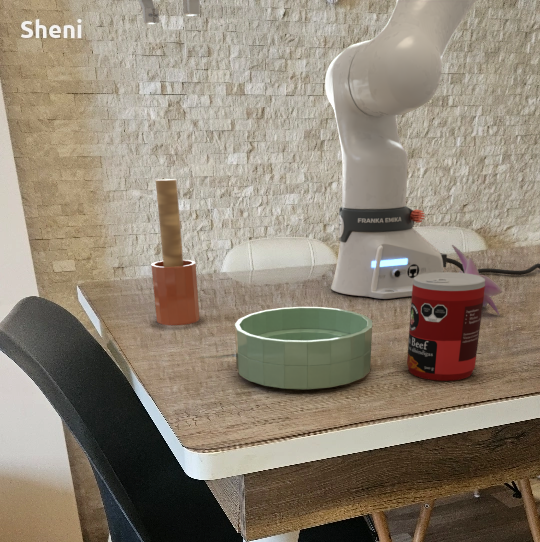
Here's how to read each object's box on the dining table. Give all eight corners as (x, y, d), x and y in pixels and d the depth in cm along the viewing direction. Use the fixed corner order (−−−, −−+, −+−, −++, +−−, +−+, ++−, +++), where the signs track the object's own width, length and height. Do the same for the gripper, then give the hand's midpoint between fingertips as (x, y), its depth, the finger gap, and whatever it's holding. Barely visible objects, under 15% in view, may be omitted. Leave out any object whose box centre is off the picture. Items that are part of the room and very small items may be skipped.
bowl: (349, 348, 90) (350, 303, 87) (388, 388, 76) (391, 336, 73) (230, 356, 87) (228, 311, 85) (247, 399, 73) (244, 346, 71)
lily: (493, 333, 98) (528, 272, 96) (422, 298, 99) (454, 237, 97) (484, 337, 110) (514, 282, 108) (420, 305, 111) (449, 251, 109)
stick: (187, 316, 105) (176, 178, 96) (188, 321, 103) (177, 180, 94) (168, 318, 105) (155, 179, 96) (168, 322, 102) (155, 180, 93)
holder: (198, 316, 108) (193, 258, 103) (201, 326, 102) (196, 266, 97) (156, 319, 107) (151, 260, 102) (157, 329, 101) (151, 268, 97)
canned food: (399, 363, 83) (405, 273, 78) (461, 360, 84) (471, 270, 79) (416, 383, 77) (424, 286, 71) (483, 380, 77) (496, 283, 72)
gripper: (231, -123, 83) (236, 11, 89) (138, -86, 96) (148, 29, 102) (192, -135, 79) (200, 7, 85) (100, -94, 92) (113, 26, 98)
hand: (171, 19), depth 94 cm, fingers open, 8 cm apart
